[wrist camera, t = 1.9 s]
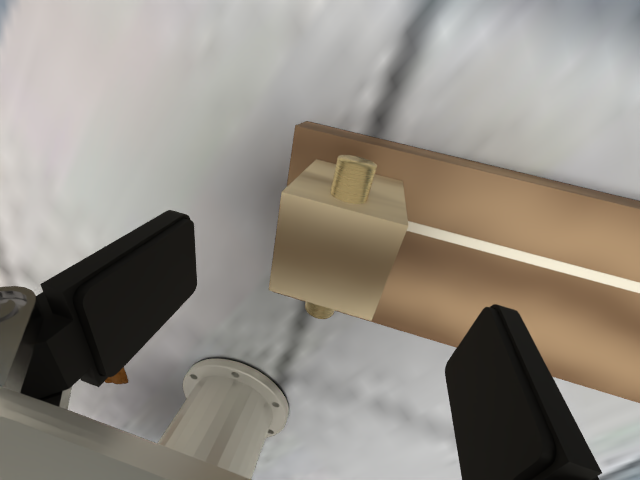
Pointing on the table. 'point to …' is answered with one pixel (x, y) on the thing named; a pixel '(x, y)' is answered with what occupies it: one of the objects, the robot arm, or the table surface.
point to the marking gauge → (338, 237)
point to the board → (505, 256)
